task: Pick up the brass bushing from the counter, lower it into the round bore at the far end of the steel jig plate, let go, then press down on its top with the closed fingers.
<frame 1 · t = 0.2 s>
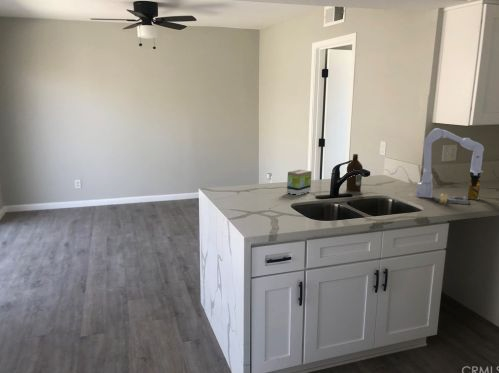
hand: (473, 185, 262), 10 cm above the worktop, tool pointing down, fingers open, 7 cm apart
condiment: (471, 198, 270), on the worktop, touching gripper
tea box: (298, 193, 282), on the worktop
jig: (451, 201, 262), on the worktop
olive oil: (353, 190, 291), on the worktop
bushing: (443, 203, 256), on the worktop
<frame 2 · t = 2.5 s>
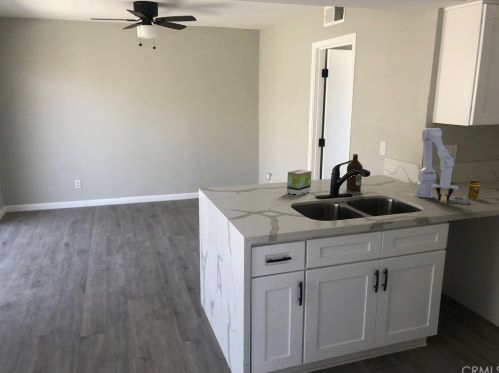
hand: (443, 200, 255), 2 cm above the worktop, tool pointing down, fingers closed on bushing, 4 cm apart
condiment: (471, 198, 270), on the worktop
bushing: (443, 203, 256), on the worktop, touching gripper
everything else where it was.
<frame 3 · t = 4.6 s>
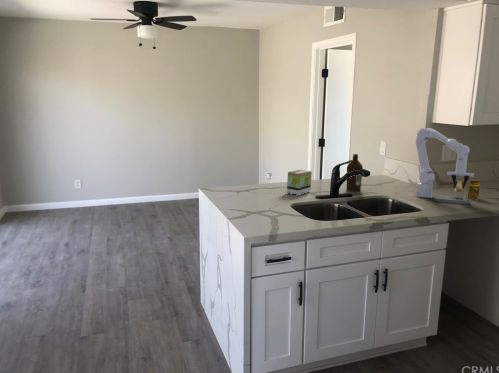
hand: (458, 187, 259), 9 cm above the worktop, tool pointing down, fingers closed on bushing, 4 cm apart
bushing: (458, 190, 259), point 7 cm above the worktop, touching gripper
everything else where it was.
when the fingers open (3 cm above the worktop, at t = 6.6 s): bushing drops 1 cm, resting in jig.
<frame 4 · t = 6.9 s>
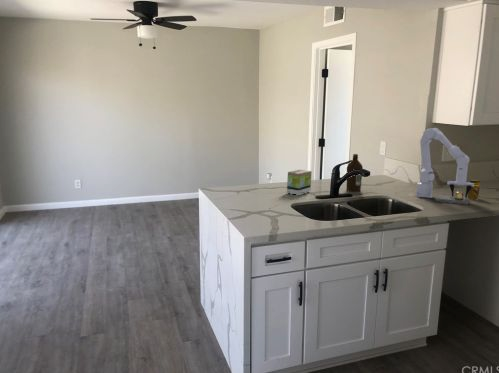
hand: (459, 197, 260), 3 cm above the worktop, tool pointing down, fingers open, 7 cm apart
bushing: (458, 201, 261), resting in jig
everything else where it was.
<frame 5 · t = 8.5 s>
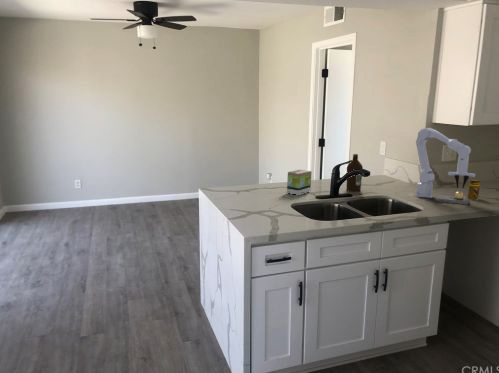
hand: (460, 187, 259), 9 cm above the worktop, tool pointing down, fingers closed
nothing on the worktop moved.
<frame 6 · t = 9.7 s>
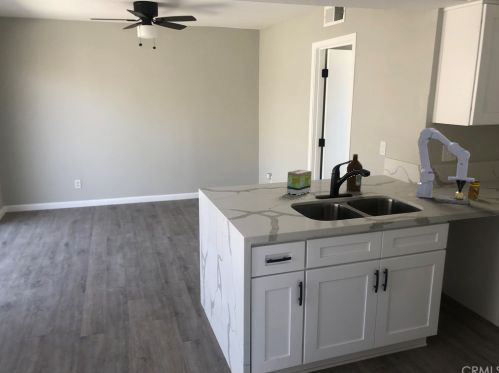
hand: (459, 192, 260), 6 cm above the worktop, tool pointing down, fingers closed, pressing on bushing
bushing: (458, 201, 261), resting in jig, touching gripper
everything else where it was.
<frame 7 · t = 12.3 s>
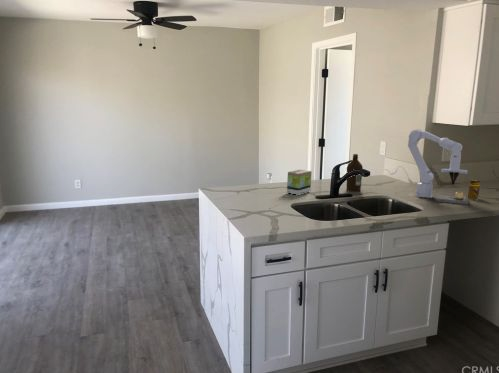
hand: (452, 184, 264), 10 cm above the worktop, tool pointing down, fingers closed
bushing: (458, 201, 261), resting in jig
everything else where it was.
at the end: bushing 0.2 cm from the target spot on the jig, point 0.0 cm above the jig's base; bushing tilted 0°; the gripper is holding nothing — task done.
